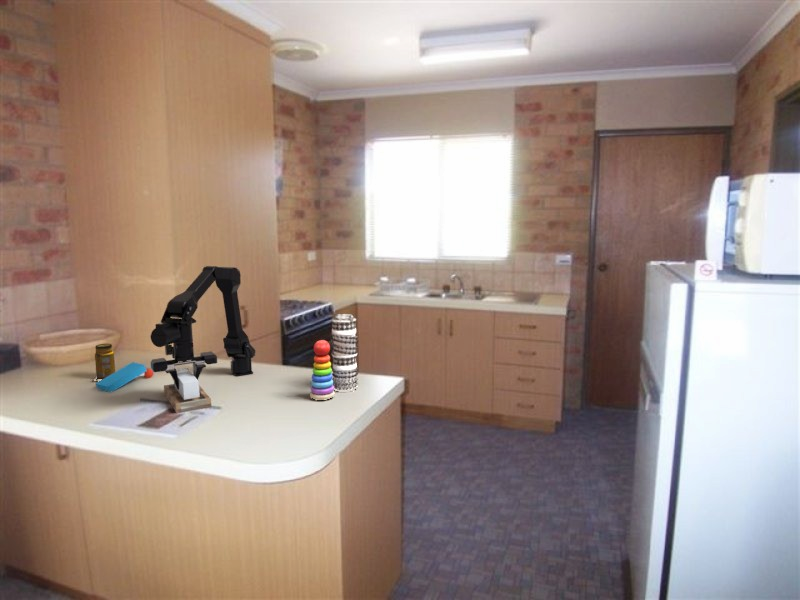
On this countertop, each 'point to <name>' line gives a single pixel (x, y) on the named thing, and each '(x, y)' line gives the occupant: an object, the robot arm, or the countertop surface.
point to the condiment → (104, 361)
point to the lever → (124, 376)
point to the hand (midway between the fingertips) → (186, 387)
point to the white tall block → (187, 384)
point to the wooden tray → (187, 404)
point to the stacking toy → (322, 373)
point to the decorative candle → (344, 352)
